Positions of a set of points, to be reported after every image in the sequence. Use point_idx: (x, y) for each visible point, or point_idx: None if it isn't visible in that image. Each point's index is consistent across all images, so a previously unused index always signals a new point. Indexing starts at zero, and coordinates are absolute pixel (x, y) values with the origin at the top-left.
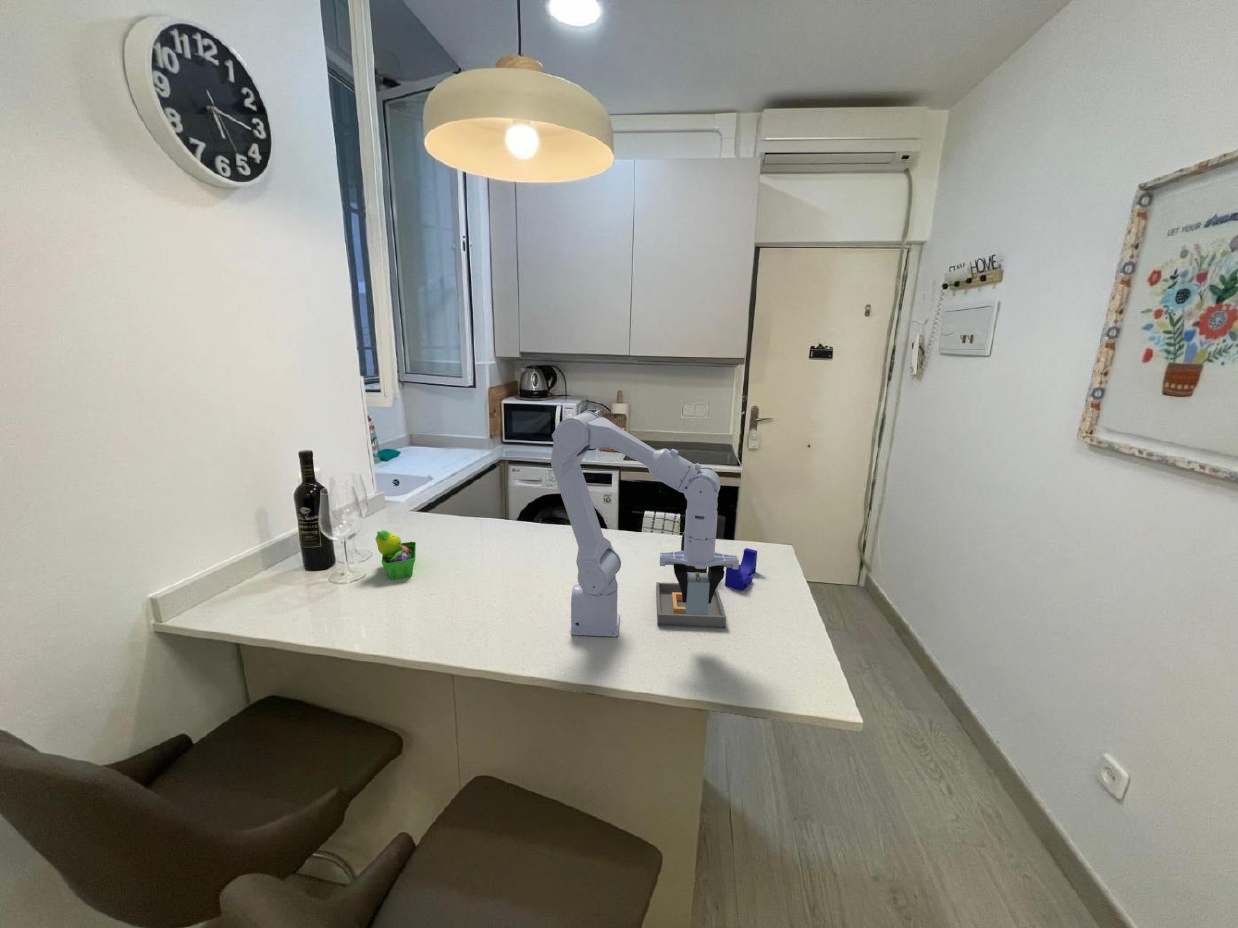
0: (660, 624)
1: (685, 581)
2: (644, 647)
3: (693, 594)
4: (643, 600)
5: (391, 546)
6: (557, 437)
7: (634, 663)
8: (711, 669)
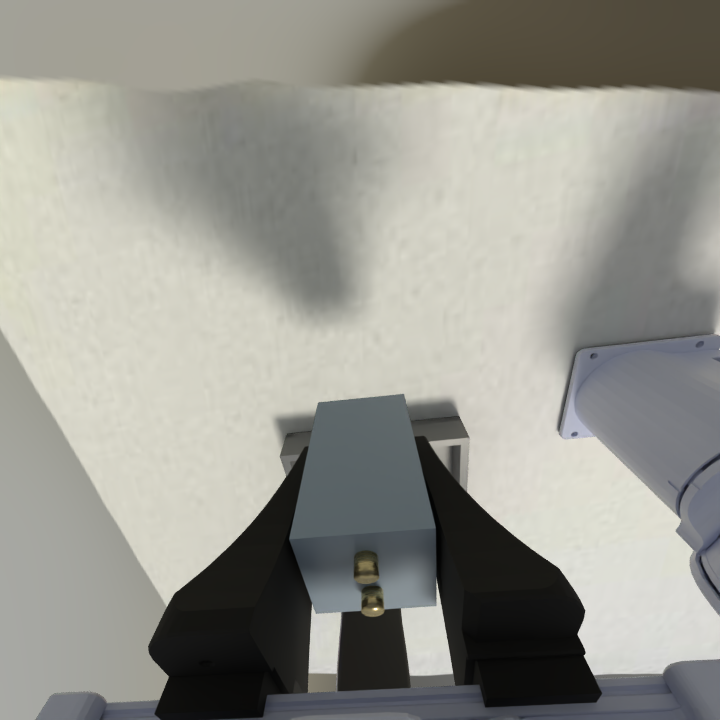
0: (452, 418)
1: (453, 531)
2: (501, 319)
3: (385, 461)
4: (488, 497)
5: None
6: None
7: (539, 237)
8: (308, 255)
